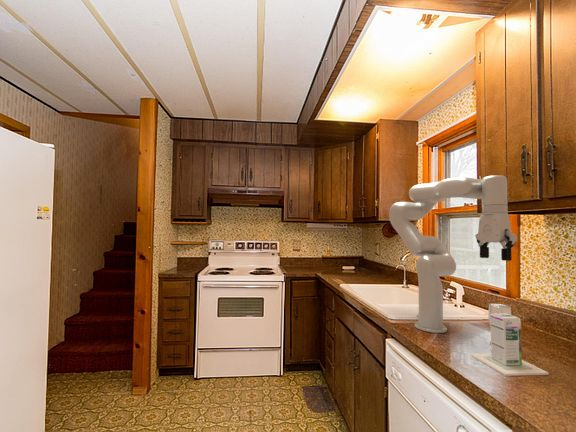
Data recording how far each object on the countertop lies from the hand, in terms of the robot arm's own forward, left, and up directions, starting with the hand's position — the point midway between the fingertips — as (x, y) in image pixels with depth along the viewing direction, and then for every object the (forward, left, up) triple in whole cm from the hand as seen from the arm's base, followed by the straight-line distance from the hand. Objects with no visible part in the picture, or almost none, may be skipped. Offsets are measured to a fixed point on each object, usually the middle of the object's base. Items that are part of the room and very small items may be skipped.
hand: (494, 259), depth 105 cm
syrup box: (+9, -4, -32) cm, 33 cm away
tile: (+9, -4, -32) cm, 34 cm away
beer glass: (-5, +6, -32) cm, 33 cm away
